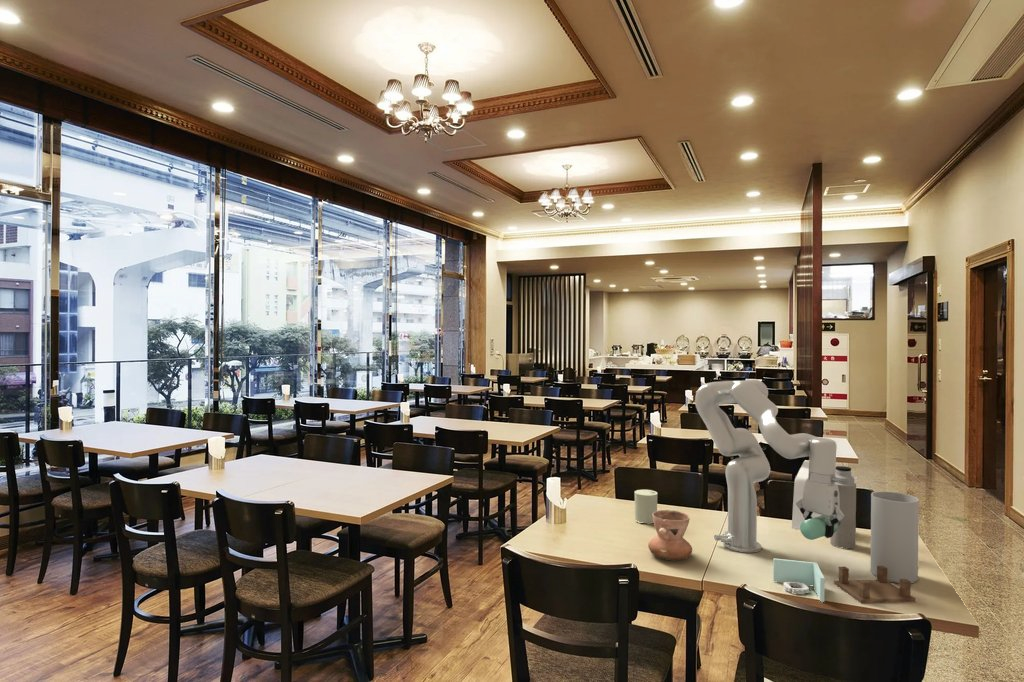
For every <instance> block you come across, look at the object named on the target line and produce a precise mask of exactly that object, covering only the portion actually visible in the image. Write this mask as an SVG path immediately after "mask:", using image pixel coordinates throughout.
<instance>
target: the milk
mask: <svg viewBox="0 0 1024 682" xmlns="http://www.w3.org/2000/svg"><path fill="white" fill-rule="evenodd" d="M808 473H809V459H808V460H806V459H805V460H804V461H803V462H802V465H801V467H800V468H799V470H798V472H797V474H796V475H795V478H794V484H793V485H794V486H793V498H792V499H793V502H792V519H791V529H793V528H795V529H794V530H798V529H800V525H801V523H802V522H803V521H804V520H805V518H804V517H803V514H802V513H801V511H800V509H799V508H798V506H797V505H796V503H797V502H798V501H799V500H801V499H802V498H803V491H804V486H805V482H806V479H808ZM818 516H821V514H818V513H814V512H813V513H812V515H811V517H813V518H815V517H818Z"/></svg>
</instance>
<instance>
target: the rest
mask: <svg viewBox="0 0 1024 682" xmlns="http://www.w3.org/2000/svg"><path fill="white" fill-rule="evenodd" d="M849 570H850V569H849V568H848V567H847V566H838V580H834V581H833V585H835V584H836V585H837V586H836V585H835V586H836V587H838V588H839V587H840V588H841V590H842V591H843V590H844V591H843V592H844V593H846V594H847V593H848V594H847V595H849V596H850V597H852V598H853V599H854V600H856V601H857V600H858V603H860V602H861V603H860V604H876V603H877V602H878V604H881V603H884V602H888V603H917V599H916V597H914V596H913V595H912V593H911V592H912V589H911V588H912V583H911V581H909V580H907V579H900V583H899V587H898V586H897V585H895V584H893V583H892V582H889V581H887V568H886V567H885V566H877V577H876V579H851V580H850V576H849V573H850V571H849ZM840 588H839V589H840ZM879 602H880V603H879ZM884 604H885V603H884Z"/></svg>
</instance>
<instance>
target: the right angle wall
mask: <svg viewBox="0 0 1024 682" xmlns="http://www.w3.org/2000/svg"><path fill="white" fill-rule="evenodd" d="M772 560H773V563H772V564H773V565H772V566H773V568H772V569H773V572H772V573H773V574H772V575H773V576H772V581H777V582H776V583H779V582H786V583H782V584H783V588H784V589H785V590H787V591H789V592H788V593H790V592H793V593H796V594H797V595H798V594H802V595H806V594H805V593H807V592H808V593H810V588H809V587H810V586H807V585H813V586H814V587H813V586H812V587H813V589H814V588H815V590H814V591H816V592H815V594H816V593H817V594H816V596H817V595H818V596H817V598H818V597H819V599H820V601H821V602H820V601H819V602H820V603H823V602H824V603H825V576H824V573H822V570H821V569H820V567H819V564H818V563H817V562H814V561H813V562H811V561H803V560H793V559H784V558H783V559H782V558H775V557H774V558H773V559H772ZM790 586H793V587H790ZM796 587H798V588H796ZM784 589H783V590H784ZM785 590H784V591H785ZM787 591H786V592H787ZM819 599H818V600H819Z"/></svg>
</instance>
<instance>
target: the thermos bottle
mask: <svg viewBox="0 0 1024 682" xmlns="http://www.w3.org/2000/svg"><path fill="white" fill-rule="evenodd" d="M835 474H836V477H837V478H839V482H835V484H837V485H838V490H839V500H840V510H841V511H842V513H843V514H844V515H845V518H844V519H842V520H841V525H839V526H838V529H837V531H836V532H835V533H834V534H833V536H832V537H829V538H830V539H829V540H830V543H829V544H830V545H831V546H833V545H834V547H836V546H838V547H837V548H839V547H843V548H842V549H845V548H852V549H855V548H856V545H857V544H856V543H857V542H856V541H857V539H856V538H857V533H856V532H857V531H856V530H857V528H856V527H857V523H856V522H857V521H856V519H857V518H856V517H857V516H856V513H857V483H855V477H854V476H852V468H851V467H850V466H843V465H836V468H835ZM837 516H838V515H834V517H837ZM854 547H855V548H854Z"/></svg>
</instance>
